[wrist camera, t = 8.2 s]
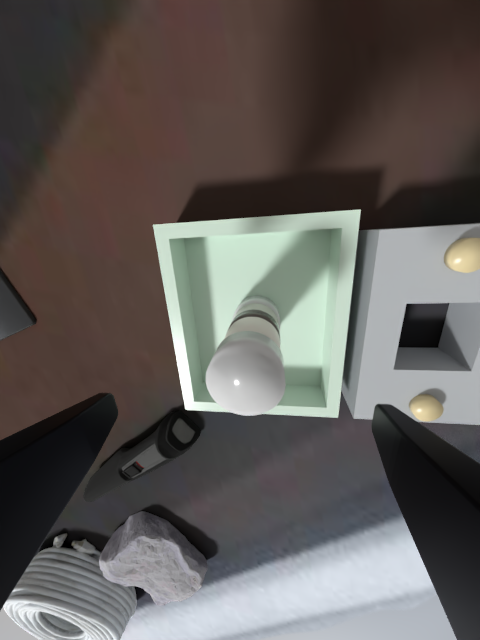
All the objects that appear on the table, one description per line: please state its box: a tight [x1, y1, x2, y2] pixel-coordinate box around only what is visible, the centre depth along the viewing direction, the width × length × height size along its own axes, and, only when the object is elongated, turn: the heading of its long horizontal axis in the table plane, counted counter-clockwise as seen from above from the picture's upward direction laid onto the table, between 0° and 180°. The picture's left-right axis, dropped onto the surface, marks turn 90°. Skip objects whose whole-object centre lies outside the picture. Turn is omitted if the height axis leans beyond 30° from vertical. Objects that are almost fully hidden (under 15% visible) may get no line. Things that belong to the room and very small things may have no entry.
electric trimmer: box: [83, 411, 201, 502], centre depth 23 cm, size 4×16×3 cm, turn 131°
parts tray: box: [153, 209, 361, 418], centre depth 16 cm, size 11×13×3 cm
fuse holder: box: [342, 223, 480, 425], centre depth 14 cm, size 8×12×4 cm, turn 3°
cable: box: [4, 533, 137, 640], centre depth 33 cm, size 18×18×6 cm
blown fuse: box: [206, 295, 286, 416], centre depth 13 cm, size 3×3×8 cm
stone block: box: [99, 511, 207, 605], centre depth 29 cm, size 12×5×10 cm
